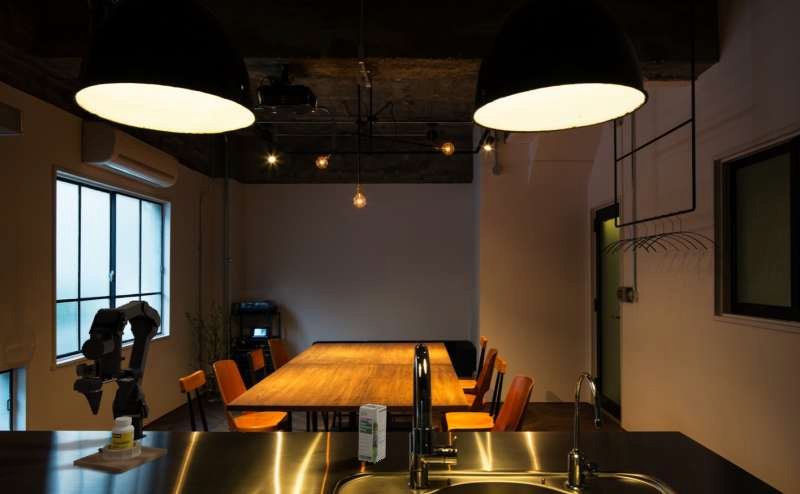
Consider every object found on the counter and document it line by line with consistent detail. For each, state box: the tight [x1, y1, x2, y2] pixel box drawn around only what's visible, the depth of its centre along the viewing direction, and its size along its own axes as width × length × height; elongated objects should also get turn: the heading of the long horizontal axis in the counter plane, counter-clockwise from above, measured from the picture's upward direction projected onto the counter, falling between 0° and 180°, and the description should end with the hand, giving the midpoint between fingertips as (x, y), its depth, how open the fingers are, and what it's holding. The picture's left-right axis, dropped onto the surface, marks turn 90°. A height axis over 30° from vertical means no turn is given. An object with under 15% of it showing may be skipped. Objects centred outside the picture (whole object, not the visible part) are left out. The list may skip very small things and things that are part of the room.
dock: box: [72, 440, 168, 475], centre depth 149 cm, size 16×16×4 cm
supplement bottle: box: [110, 417, 134, 450], centre depth 149 cm, size 5×5×10 cm
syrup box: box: [357, 403, 387, 464], centre depth 152 cm, size 6×6×14 cm
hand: (108, 410), depth 152 cm, fingers open, 9 cm apart
